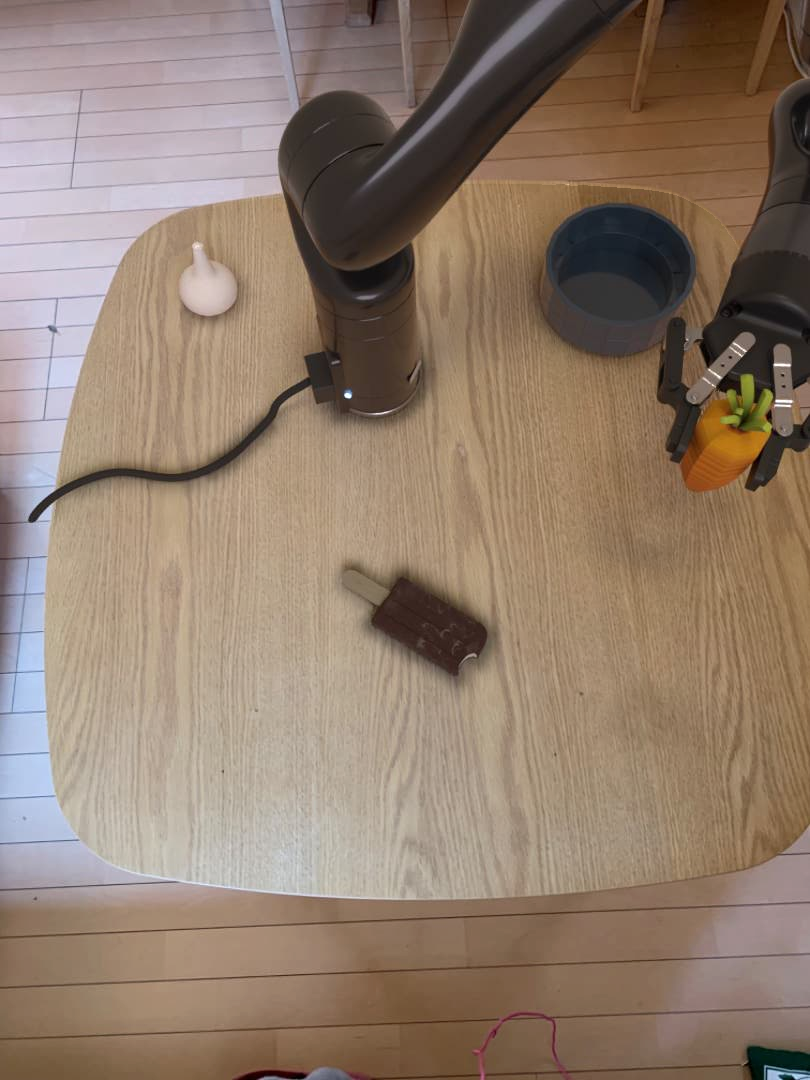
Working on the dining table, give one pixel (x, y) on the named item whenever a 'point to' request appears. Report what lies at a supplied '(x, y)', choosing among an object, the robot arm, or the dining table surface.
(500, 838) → the dining table surface
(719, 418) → the carrot
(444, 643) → the ice cream bar
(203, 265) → the garlic bulb
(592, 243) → the bowl
